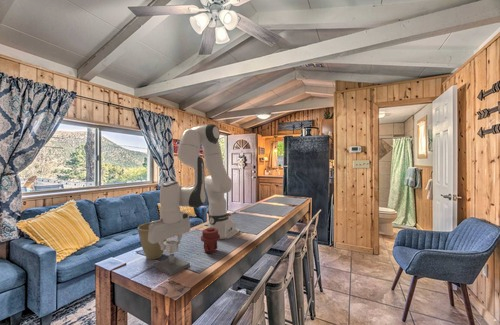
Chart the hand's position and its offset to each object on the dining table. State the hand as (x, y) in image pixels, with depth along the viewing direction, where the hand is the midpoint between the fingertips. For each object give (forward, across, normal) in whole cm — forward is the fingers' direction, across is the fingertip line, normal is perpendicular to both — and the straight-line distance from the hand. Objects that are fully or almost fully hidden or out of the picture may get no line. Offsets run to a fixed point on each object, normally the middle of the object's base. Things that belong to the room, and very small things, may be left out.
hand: (170, 246), depth 102 cm
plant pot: (+10, +2, +17) cm, 19 cm away
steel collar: (+2, 0, 0) cm, 2 cm away
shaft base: (+9, 0, 0) cm, 9 cm away
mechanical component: (+9, +22, -3) cm, 24 cm away
